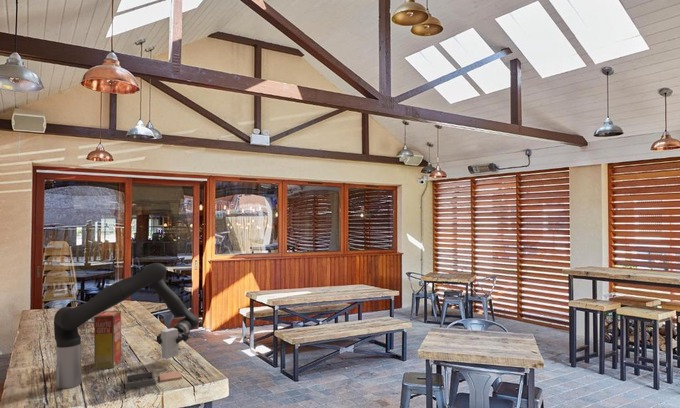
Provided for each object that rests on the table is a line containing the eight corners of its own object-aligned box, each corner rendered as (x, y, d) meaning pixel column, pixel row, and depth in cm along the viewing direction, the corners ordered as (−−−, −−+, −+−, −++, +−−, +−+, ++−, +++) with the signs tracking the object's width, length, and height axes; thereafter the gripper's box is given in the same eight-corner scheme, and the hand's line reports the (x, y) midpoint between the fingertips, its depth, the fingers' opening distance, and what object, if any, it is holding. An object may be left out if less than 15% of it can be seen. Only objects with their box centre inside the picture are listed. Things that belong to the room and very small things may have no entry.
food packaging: (114, 368, 226) (113, 315, 227) (93, 369, 225) (92, 316, 225) (122, 359, 239) (121, 310, 240) (102, 361, 238) (101, 311, 238)
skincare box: (173, 354, 215) (172, 327, 215) (178, 355, 212) (178, 328, 212) (161, 357, 210) (160, 330, 210) (166, 359, 207) (165, 331, 207)
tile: (160, 382, 205) (160, 380, 205) (159, 375, 213) (159, 374, 213) (182, 378, 208) (182, 376, 208) (180, 372, 216) (180, 370, 216)
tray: (125, 388, 198) (125, 383, 198) (125, 380, 209) (125, 375, 209) (154, 383, 202) (154, 379, 203) (153, 375, 213) (153, 371, 213)
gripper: (163, 324, 225) (151, 333, 208) (193, 323, 226) (184, 332, 209) (163, 340, 225) (151, 351, 208) (194, 339, 226) (185, 349, 209)
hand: (168, 341), depth 209 cm, fingers closed on skincare box, 7 cm apart
